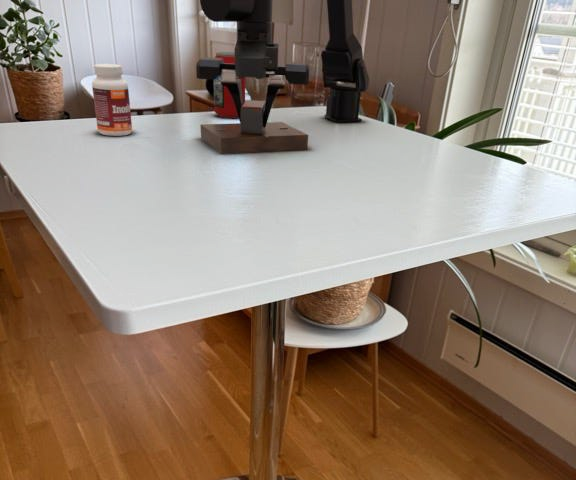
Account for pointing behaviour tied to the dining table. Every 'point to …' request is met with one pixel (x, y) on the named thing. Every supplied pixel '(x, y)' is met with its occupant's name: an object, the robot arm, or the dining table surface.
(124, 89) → the pill bottle
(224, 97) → the beverage can
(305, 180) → the dining table surface
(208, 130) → the brown wooden base
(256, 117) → the rectangular block
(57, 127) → the dining table surface
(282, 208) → the dining table surface
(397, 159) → the dining table surface
